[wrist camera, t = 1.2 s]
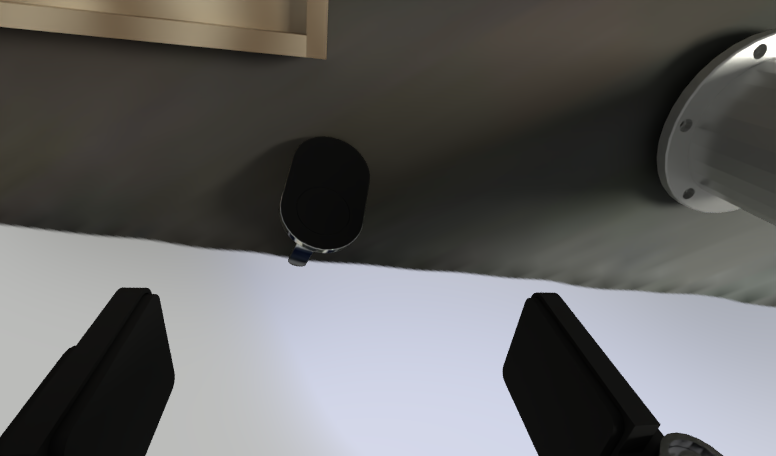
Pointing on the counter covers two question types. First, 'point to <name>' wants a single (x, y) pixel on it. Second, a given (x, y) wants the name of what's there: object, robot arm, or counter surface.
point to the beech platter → (184, 22)
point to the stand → (323, 197)
